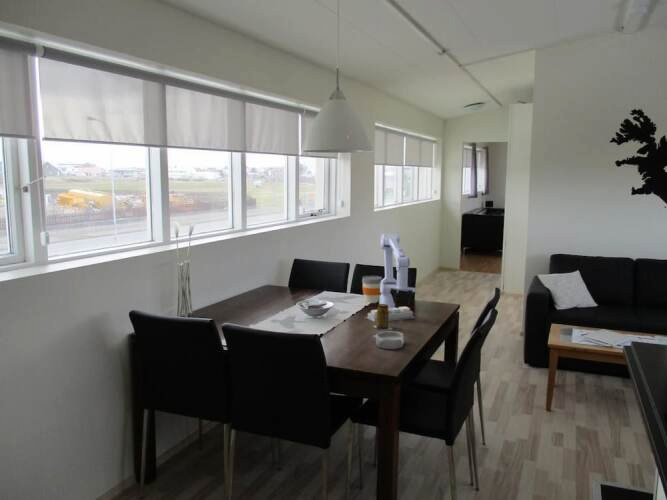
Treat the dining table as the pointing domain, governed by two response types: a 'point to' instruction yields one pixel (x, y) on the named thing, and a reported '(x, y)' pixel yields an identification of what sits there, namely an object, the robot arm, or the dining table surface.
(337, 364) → the dining table surface
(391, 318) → the keypad
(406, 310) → the ivory key
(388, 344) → the dish
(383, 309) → the condiment
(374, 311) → the sage key
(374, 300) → the reusable coffee cup
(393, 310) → the bluegrey key
